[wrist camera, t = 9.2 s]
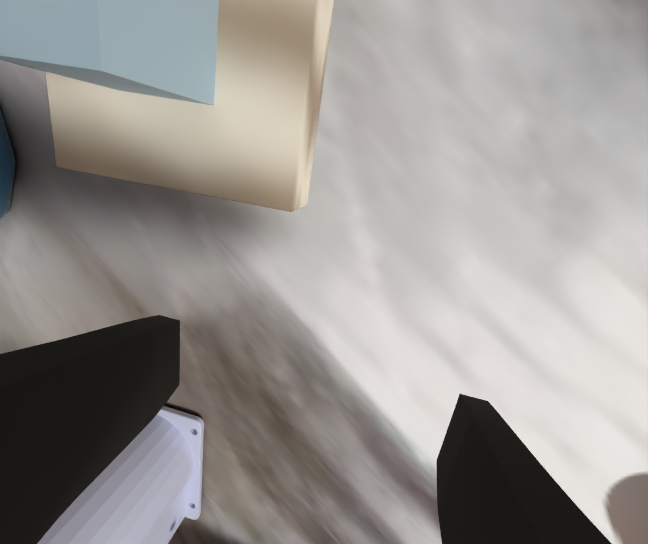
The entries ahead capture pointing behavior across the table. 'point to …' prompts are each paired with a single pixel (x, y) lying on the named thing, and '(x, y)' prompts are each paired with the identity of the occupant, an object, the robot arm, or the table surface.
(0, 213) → the wine bottle
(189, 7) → the block
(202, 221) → the table surface
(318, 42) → the plinth
